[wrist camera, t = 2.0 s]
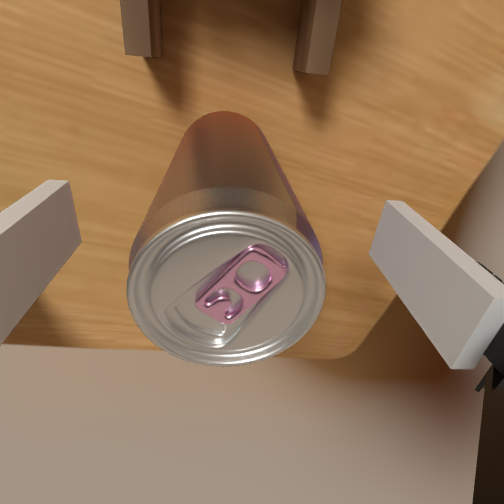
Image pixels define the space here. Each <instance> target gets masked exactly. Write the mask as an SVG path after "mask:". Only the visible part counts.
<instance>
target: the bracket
mask: <svg viewBox="0 0 504 504" xmlns="http://www.w3.org/2000/svg"><path fill="white" fill-rule="evenodd" d="M120 6H121V16H122V26H123V36H124V46H125V55H133V56H143V57H163V51H162V30H161V9H160V0H120ZM341 6H342V0H302V5H301V12H300V20H299V27H298V35H297V42H296V49H295V57H294V64H293V70H295V71H300V72H304V73H312V74H322V75H329V70H330V65H331V59H332V54H333V49H334V43H335V38H336V32H337V27H338V22H339V16H340V11H341Z"/></svg>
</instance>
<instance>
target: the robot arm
mask: <svg viewBox="0 0 504 504" xmlns="http://www.w3.org/2000/svg"><path fill="white" fill-rule="evenodd" d="M81 242H82V241H81V236H80V231H79V227H78V222H77V217H76V212H75V208H74V203H73V198H72V194H71V189H70V184H69V181H63V180H47V181H45V182H44V183H43V184H41V185H40V186H38V187H37V188H35V189H34V190H32V191H31V192H29V193H28V194H27V195H25V196H24V197H22V198H21V199H19V200H18V201H16V202H15V203H13V204H12V205H11V206H9V207H8V208H6V209H5V210H3V211H2V212H0V345H1V344H2V343H3V342H4V340H5V339H6V338H7V336H8V335H9V334H10V333H11V331H12V330H13V329H14V328H15V326H16V325H17V324H18V322H19V321H20V320H21V319H22V317H23V316H24V315H25V314H26V312H27V311H28V310H29V308H30V307H31V306H32V305H33V303H34V302H35V301H36V299H37V298H38V297H39V296H40V294H41V293H42V292H43V291H44V289H45V288H46V287H47V285H48V284H49V283H50V282H51V280H52V279H53V278H54V277H55V275H56V274H57V273H58V271H59V270H60V269H61V268H62V266H63V265H64V264H65V263H66V261H67V260H68V259H69V257H70V256H71V255H72V254H73V252H74V251H75V250H76V248H77V247H78V246H79V245H80V243H81ZM369 255H370V257H371V258H372V259H373V261H374V262H375V264H376V265H377V266H378V268H379V269H380V271H381V272H382V273H383V275H384V276H385V278H386V279H387V280H388V282H389V283H390V285H391V286H392V287H393V289H394V290H395V292H396V293H397V294H398V296H399V297H400V299H401V300H402V301H403V303H404V304H405V305H406V307H407V308H408V310H409V311H410V312H411V314H412V315H413V317H414V318H415V319H416V321H417V322H418V323H419V325H420V326H421V328H422V329H423V330H424V332H425V333H426V335H427V336H428V337H429V339H430V340H431V342H432V343H433V344H434V346H435V347H436V349H437V350H438V352H439V353H440V354H441V356H442V357H443V358H444V360H445V361H446V363H447V364H448V366H449V367H450V368H451V369H474V368H475V367H476V366H477V364H478V363H479V361H480V360H481V358H482V357H483V355H485V356H486V357H487V358H488V360H489V361H490V362H491V363H492V366H491V367H490V368H489V370H488V371H487V373H486V374H485V375H484V377H483V378H482V380H481V381H480V383H479V384H478V385H477V387H476V389H475V390H476V391H478V392H479V391H480V390H481V389H482V388H485V391H484V400H483V410H482V419H481V428H480V438H479V447H478V457H477V467H476V475H475V485H474V494H473V504H504V283H502V280H501V279H499V278H498V277H497V276H495V275H493V273H492V272H491V271H490V270H488V269H487V268H486V267H485V266H483V265H482V264H480V263H479V262H477V261H475V260H473V259H472V258H471V257H470V256H469V255H467V254H466V253H465V252H464V251H462V250H461V249H460V248H459V247H458V246H456V245H455V244H454V243H453V242H452V241H450V240H449V239H448V238H447V237H446V236H444V235H443V234H442V233H441V232H439V231H438V230H437V229H436V228H435V227H433V226H432V225H431V224H430V223H429V222H427V221H426V220H425V219H424V218H423V217H421V216H420V215H419V214H418V213H416V212H415V211H414V210H413V209H412V208H410V207H409V206H408V205H407V204H406V203H404V202H403V201H392V200H386V202H385V205H384V208H383V211H382V214H381V217H380V220H379V223H378V227H377V230H376V233H375V236H374V239H373V242H372V245H371V248H370V251H369Z"/></svg>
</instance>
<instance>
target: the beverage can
mask: <svg viewBox="0 0 504 504" xmlns="http://www.w3.org/2000/svg"><path fill="white" fill-rule="evenodd" d="M325 291H326V281H325V273H324V269H323V262H322V253H321V248H320V245H319V242H318V239H317V237H316V235H315V233H314V231H313V229H312V227H311V225H310V223H309V221H308V219H307V217H306V215H305V213H304V211H303V210H302V208H301V206H300V204H299V202H298V200H297V198H296V196H295V194H294V192H293V190H292V188H291V186H290V184H289V182H288V180H287V179H286V177H285V175H284V173H283V171H282V169H281V167H280V165H279V163H278V161H277V159H276V157H275V155H274V153H273V151H272V149H271V148H270V146H269V144H268V142H267V140H266V138H265V136H264V134H263V133H262V131H261V130H260V128H259V127H258V126H257V125H256V124H255V123H254V122H252V121H251V120H250V119H248V118H247V117H245V116H243V115H241V114H238V113H234V112H229V111H219V112H213V113H209V114H207V115H204V116H202V117H201V118H199V119H198V120H196V121H195V122H194V123H193V124H192V125H191V126H190V127H189V128H188V129H187V131H186V132H185V134H184V136H183V138H182V140H181V142H180V145H179V147H178V149H177V151H176V153H175V155H174V157H173V159H172V162H171V164H170V166H169V168H168V170H167V172H166V174H165V176H164V178H163V181H162V183H161V185H160V187H159V189H158V191H157V193H156V195H155V198H154V200H153V202H152V204H151V206H150V208H149V210H148V212H147V214H146V217H145V219H144V221H143V223H142V225H141V227H140V229H139V231H138V233H137V236H136V238H135V240H134V242H133V245H132V248H131V252H130V257H129V274H128V279H127V300H128V305H129V309H130V311H131V314H132V316H133V318H134V320H135V322H136V324H137V325H138V327H139V328H140V330H141V331H142V332H143V333H144V334H145V336H146V337H147V338H148V339H149V340H150V341H152V342H153V343H154V344H155V345H157V346H158V347H159V348H161V349H162V350H164V351H166V352H168V353H169V354H171V355H173V356H176V357H178V358H180V359H183V360H186V361H189V362H193V363H197V364H202V365H209V366H238V365H246V364H251V363H255V362H258V361H262V360H265V359H268V358H270V357H273V356H275V355H277V354H279V353H281V352H283V351H285V350H286V349H288V348H289V347H291V346H292V345H294V344H295V343H296V342H297V341H299V340H300V339H301V338H302V337H303V336H304V335H305V334H306V333H307V332H308V331H309V329H310V328H311V327H312V326H313V324H314V323H315V321H316V319H317V318H318V316H319V313H320V311H321V309H322V306H323V303H324V299H325Z"/></svg>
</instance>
